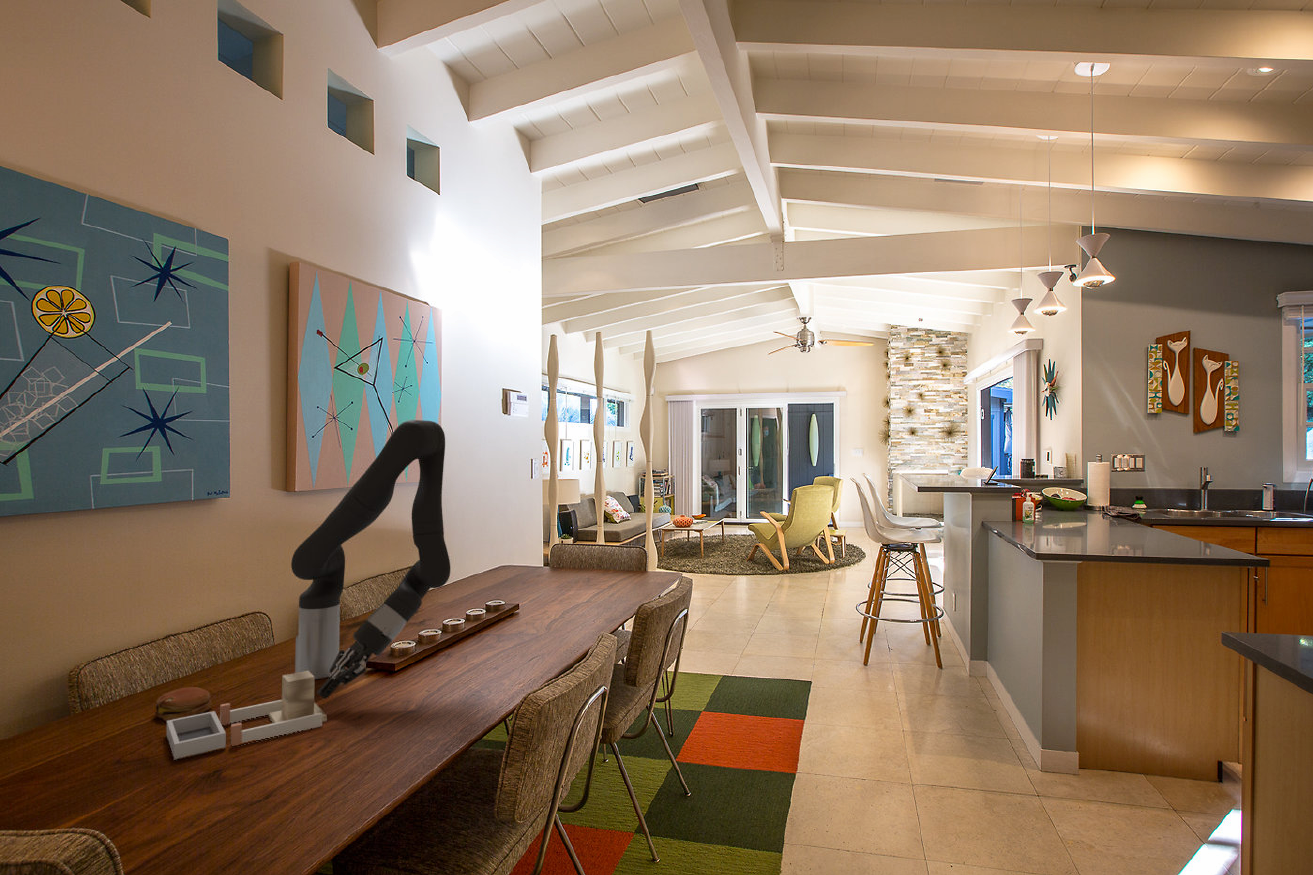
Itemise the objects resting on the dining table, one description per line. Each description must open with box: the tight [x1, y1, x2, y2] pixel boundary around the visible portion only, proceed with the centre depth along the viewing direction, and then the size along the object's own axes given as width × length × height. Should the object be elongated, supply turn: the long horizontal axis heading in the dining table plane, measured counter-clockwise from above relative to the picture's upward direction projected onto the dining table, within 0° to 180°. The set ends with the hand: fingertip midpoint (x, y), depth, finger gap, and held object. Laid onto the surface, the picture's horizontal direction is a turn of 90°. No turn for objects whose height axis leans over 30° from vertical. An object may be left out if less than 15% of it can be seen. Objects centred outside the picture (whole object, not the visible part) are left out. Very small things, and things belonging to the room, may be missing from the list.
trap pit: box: [166, 710, 227, 761], centre depth 134 cm, size 8×14×3 cm, turn 40°
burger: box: [154, 686, 212, 722], centre depth 149 cm, size 10×9×5 cm
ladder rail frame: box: [219, 699, 323, 746], centre depth 142 cm, size 16×14×4 cm
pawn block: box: [268, 671, 328, 724], centre depth 146 cm, size 9×9×9 cm
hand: (321, 695), depth 149 cm, fingers closed
